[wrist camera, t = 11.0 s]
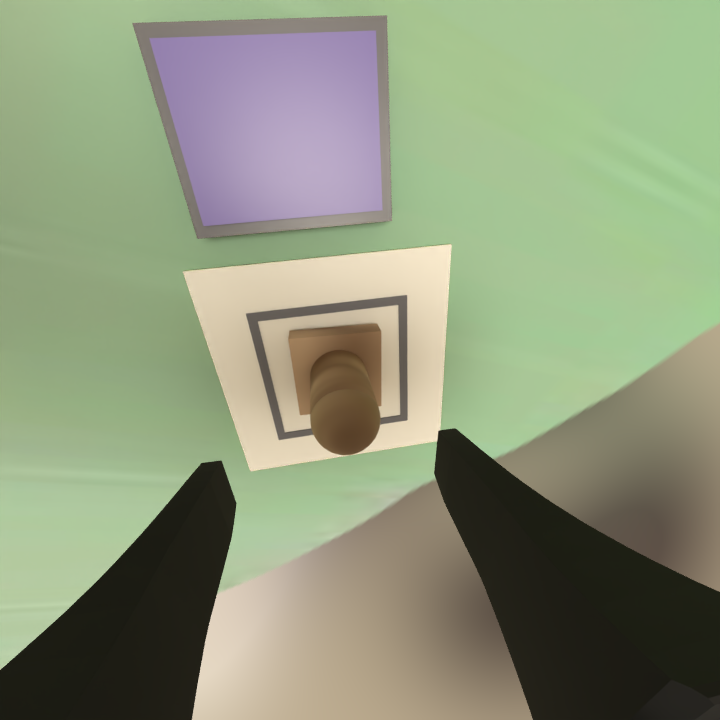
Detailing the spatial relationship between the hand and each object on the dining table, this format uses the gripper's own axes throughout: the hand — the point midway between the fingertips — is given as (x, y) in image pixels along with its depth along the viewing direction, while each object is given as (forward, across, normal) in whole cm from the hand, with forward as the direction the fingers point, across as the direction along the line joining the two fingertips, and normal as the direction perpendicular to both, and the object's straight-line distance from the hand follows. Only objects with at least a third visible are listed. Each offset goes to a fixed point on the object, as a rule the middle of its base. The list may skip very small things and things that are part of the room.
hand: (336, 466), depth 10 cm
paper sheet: (+9, -1, +2) cm, 9 cm away
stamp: (+9, -1, +1) cm, 9 cm away
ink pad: (+9, +1, -10) cm, 14 cm away
